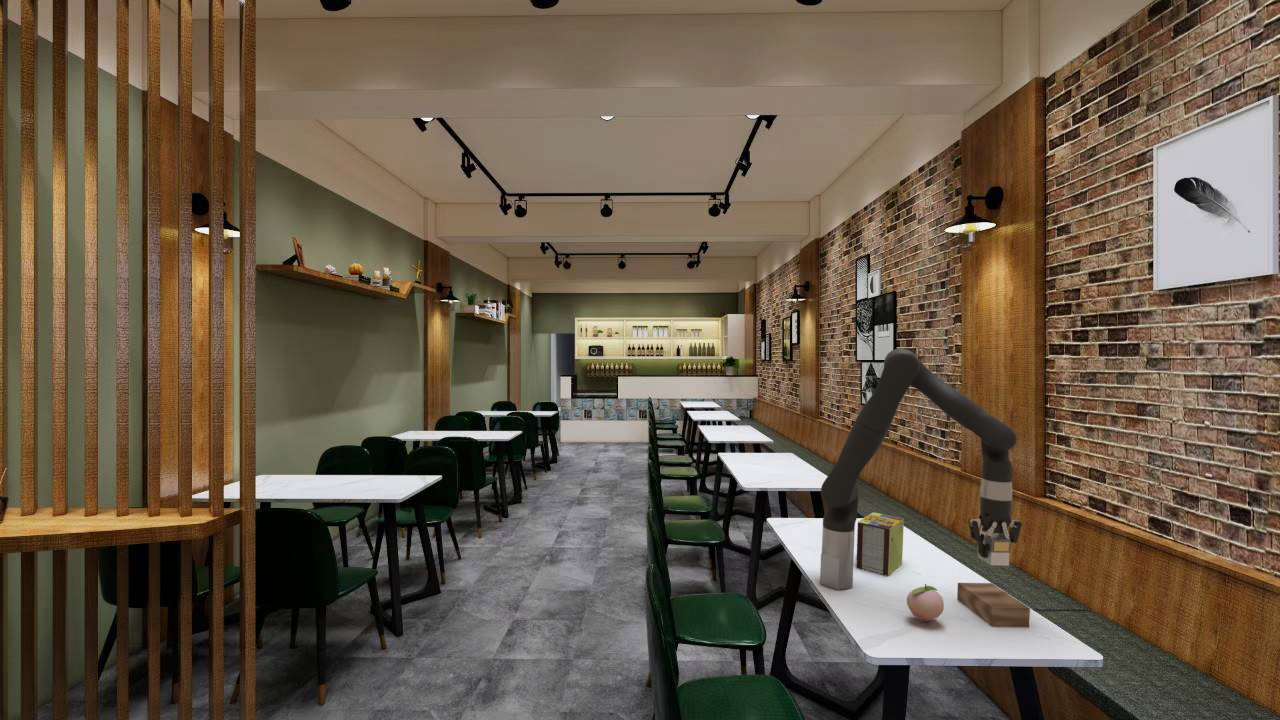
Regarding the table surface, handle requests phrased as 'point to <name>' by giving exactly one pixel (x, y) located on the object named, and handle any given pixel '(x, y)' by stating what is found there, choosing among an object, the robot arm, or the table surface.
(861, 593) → the table surface
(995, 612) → the walnut stand
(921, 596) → the decorative fruit
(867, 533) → the protein box
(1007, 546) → the housing
